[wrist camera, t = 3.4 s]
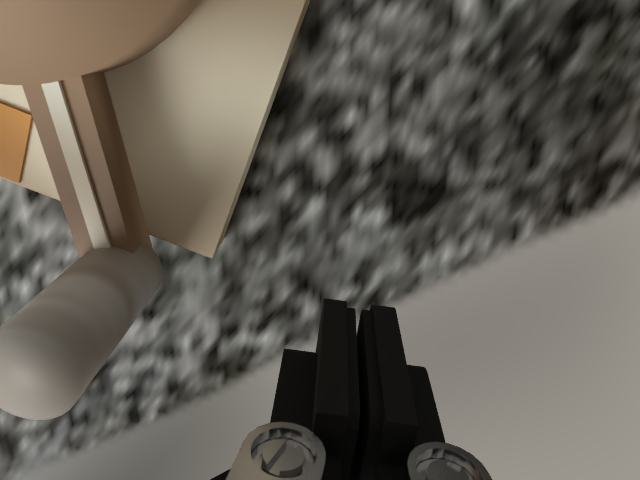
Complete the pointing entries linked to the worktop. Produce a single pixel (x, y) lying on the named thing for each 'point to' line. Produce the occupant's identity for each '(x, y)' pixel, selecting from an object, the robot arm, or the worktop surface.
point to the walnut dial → (80, 191)
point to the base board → (181, 117)
